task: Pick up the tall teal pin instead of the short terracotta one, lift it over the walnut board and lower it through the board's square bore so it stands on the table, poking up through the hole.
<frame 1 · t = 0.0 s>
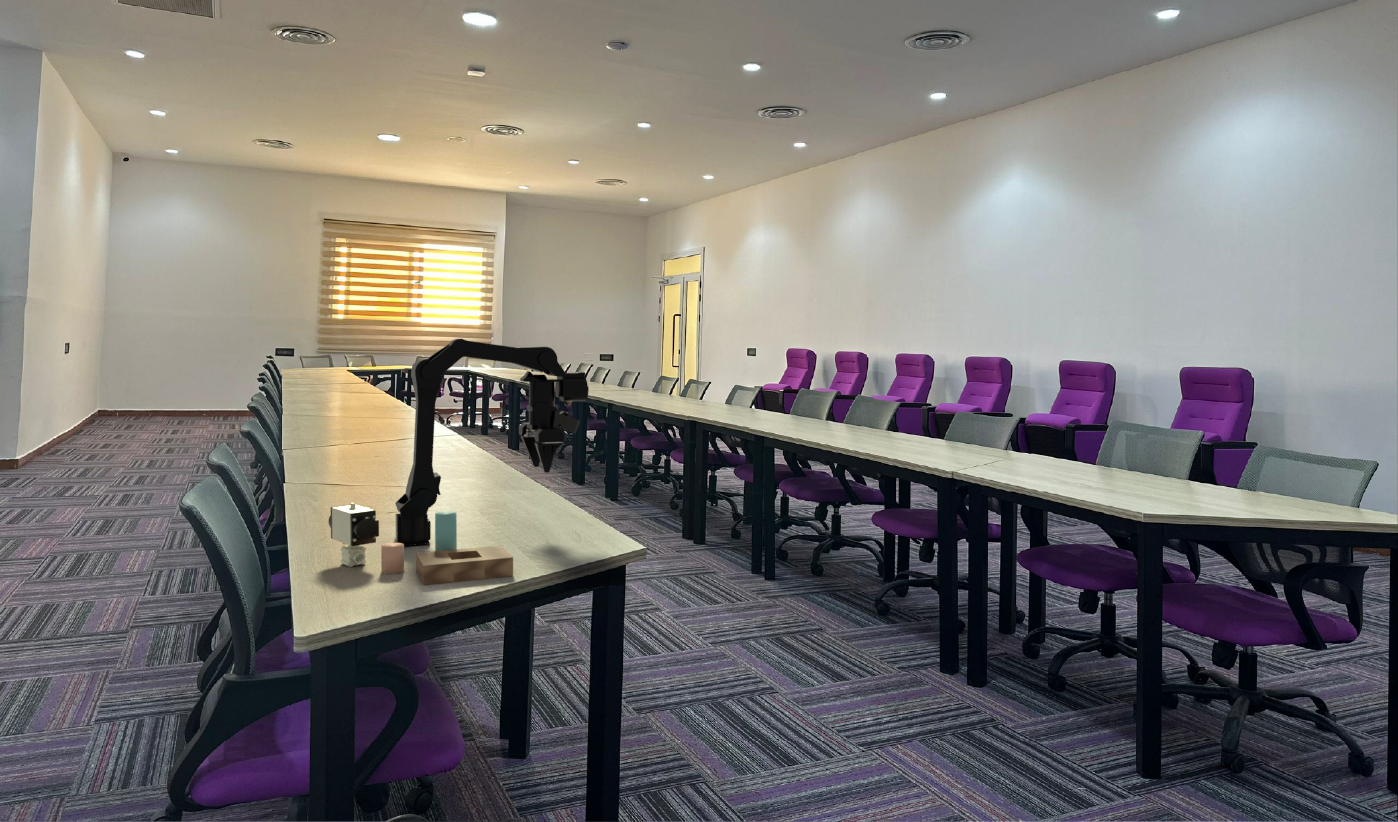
hand: (541, 469, 189), 15 cm above the table, fingers open, 9 cm apart
tall pin: (445, 563, 161), on the table
bore board: (464, 573, 154), on the table
pneumatic valve: (355, 565, 159), on the table
short pin: (392, 571, 155), on the table
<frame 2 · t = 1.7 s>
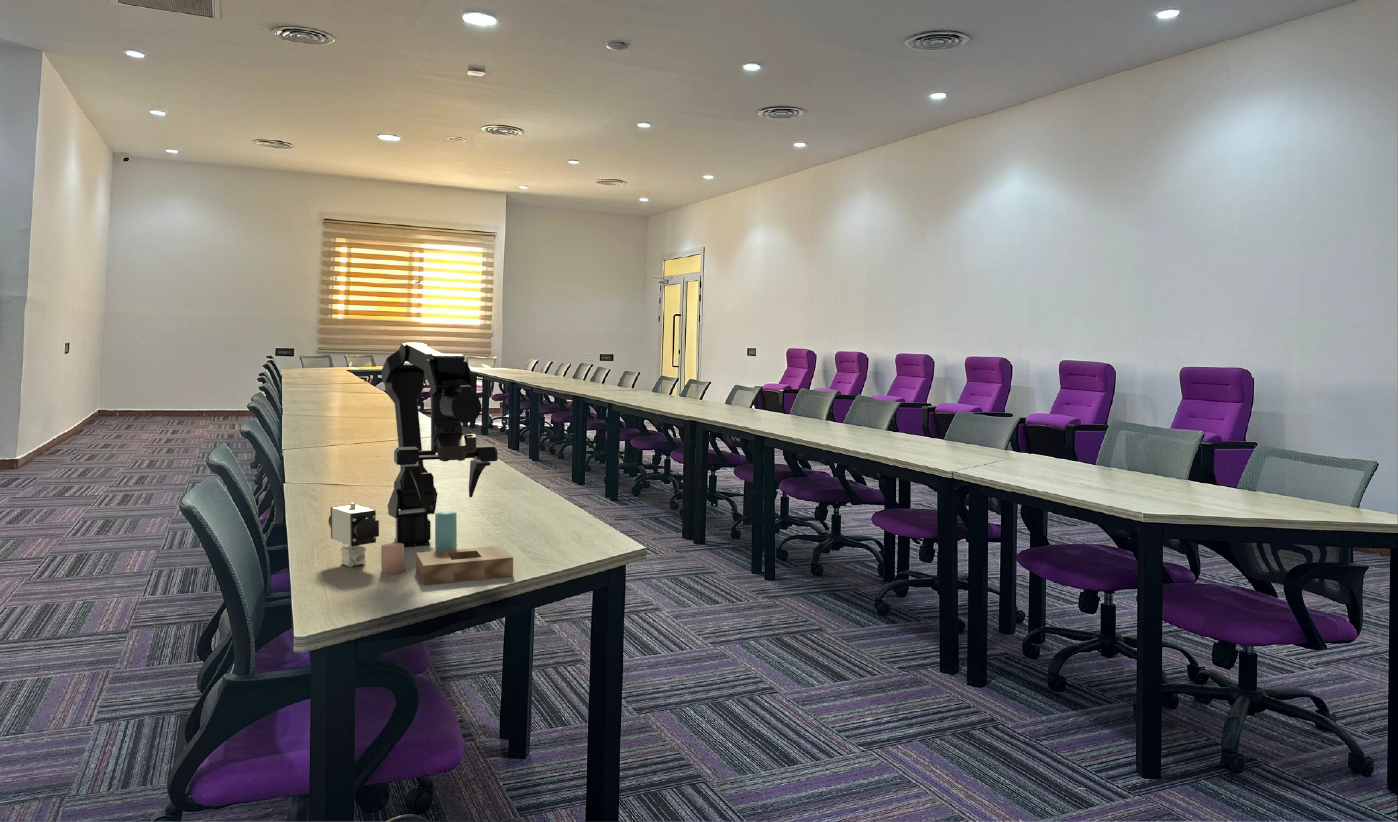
hand: (446, 498, 160), 13 cm above the table, fingers open, 9 cm apart
nothing on the table moved.
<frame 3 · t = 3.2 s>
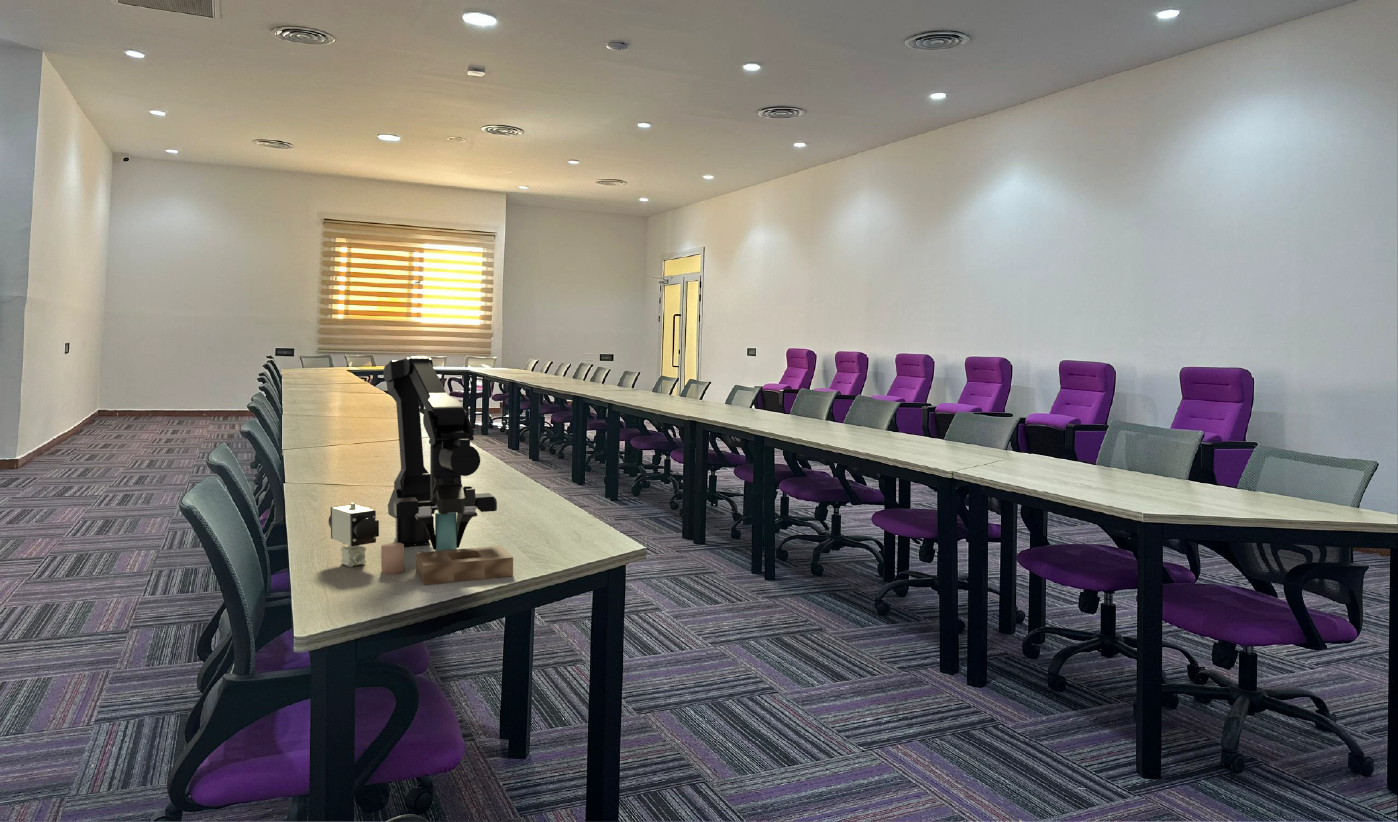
hand: (445, 548, 161), 3 cm above the table, fingers closed on tall pin, 4 cm apart
tall pin: (446, 563, 161), on the table, touching gripper
everything else where it was.
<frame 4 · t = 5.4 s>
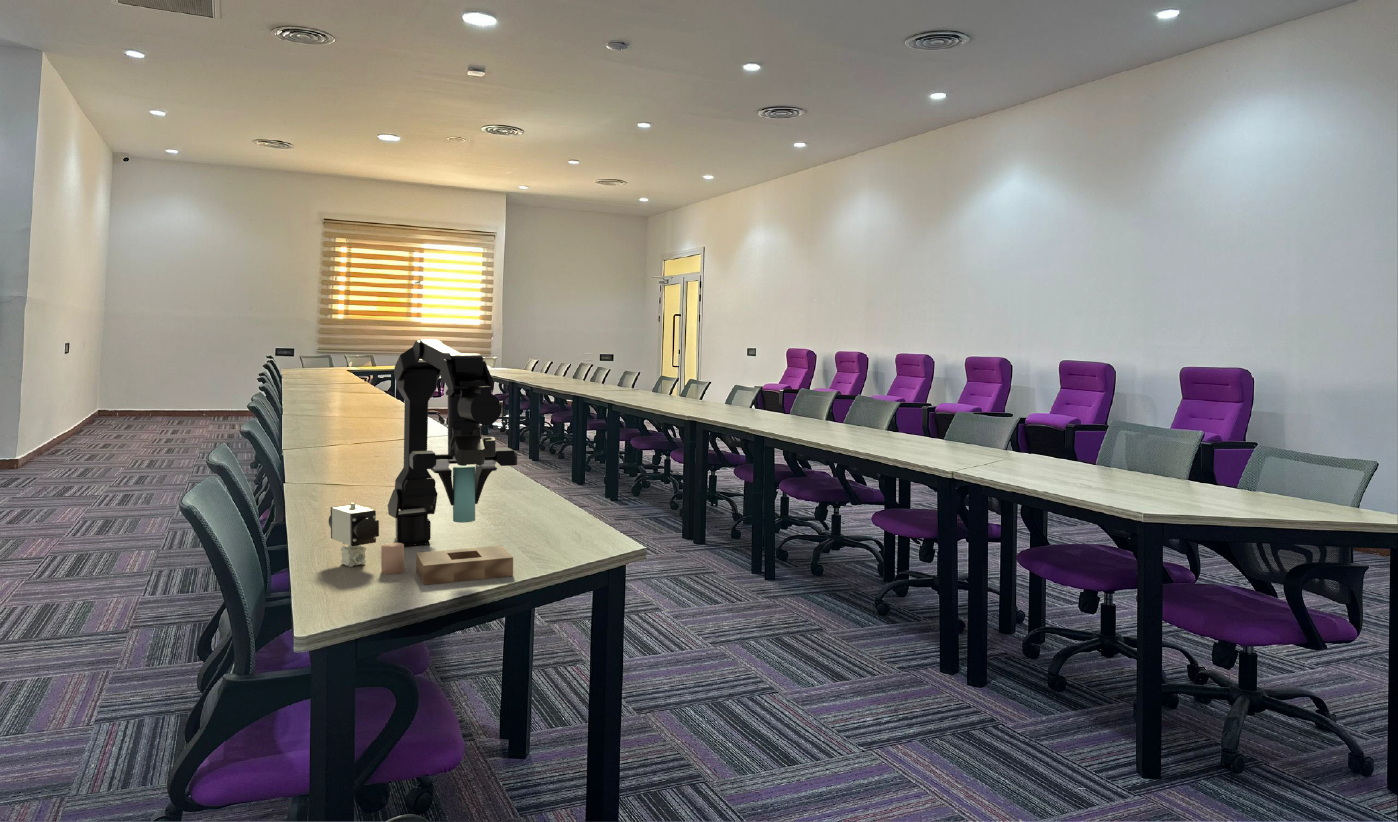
hand: (464, 504, 153), 13 cm above the table, fingers closed on tall pin, 4 cm apart
tall pin: (464, 520, 154), point 10 cm above the table, touching gripper
everything else where it was.
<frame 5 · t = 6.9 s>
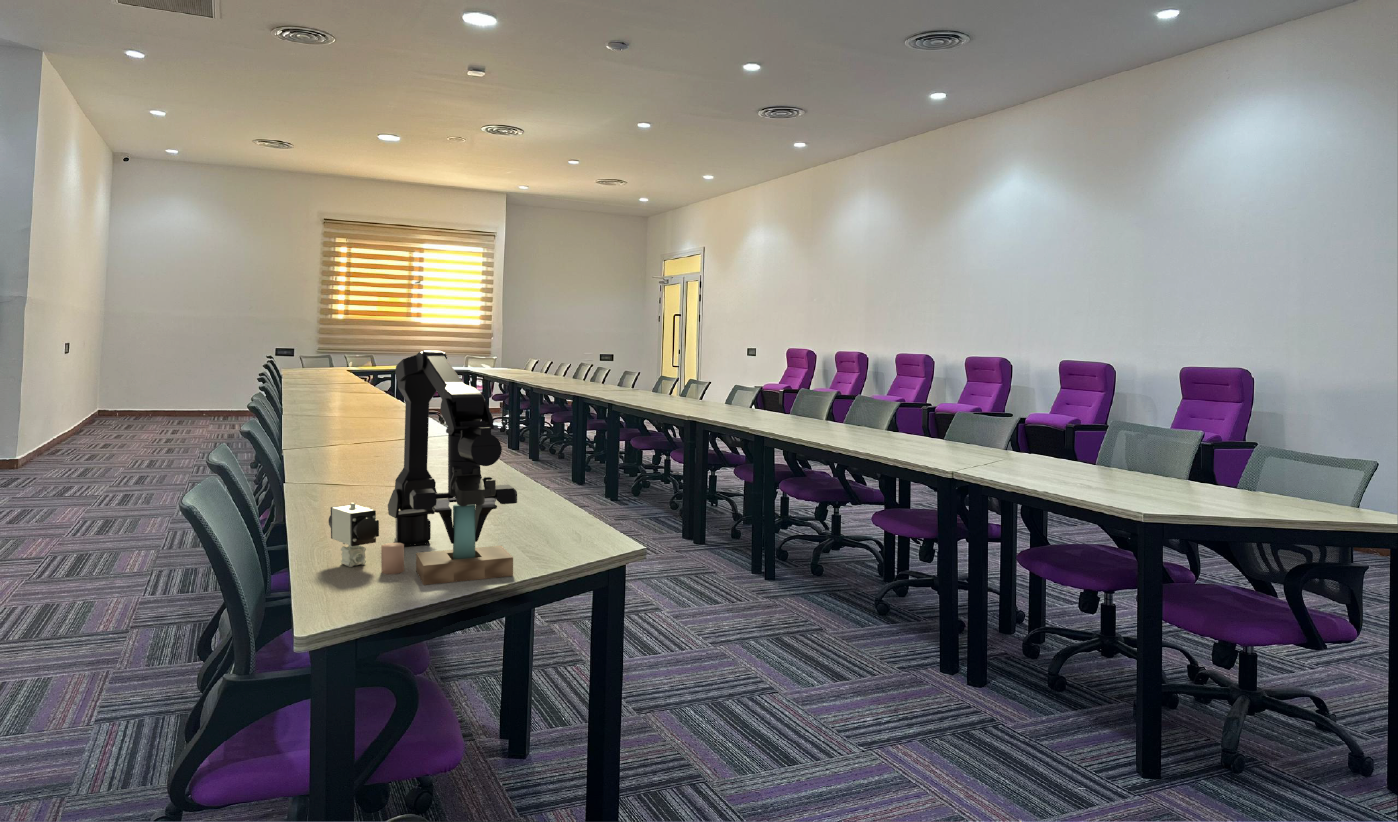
hand: (464, 542, 154), 6 cm above the table, fingers closed on tall pin, 4 cm apart
tall pin: (464, 558, 154), point 3 cm above the table, touching gripper
everything else where it was.
when the fingers open (5 cm above the table, at t = 7.9 s): tall pin drops 2 cm, resting in bore board.
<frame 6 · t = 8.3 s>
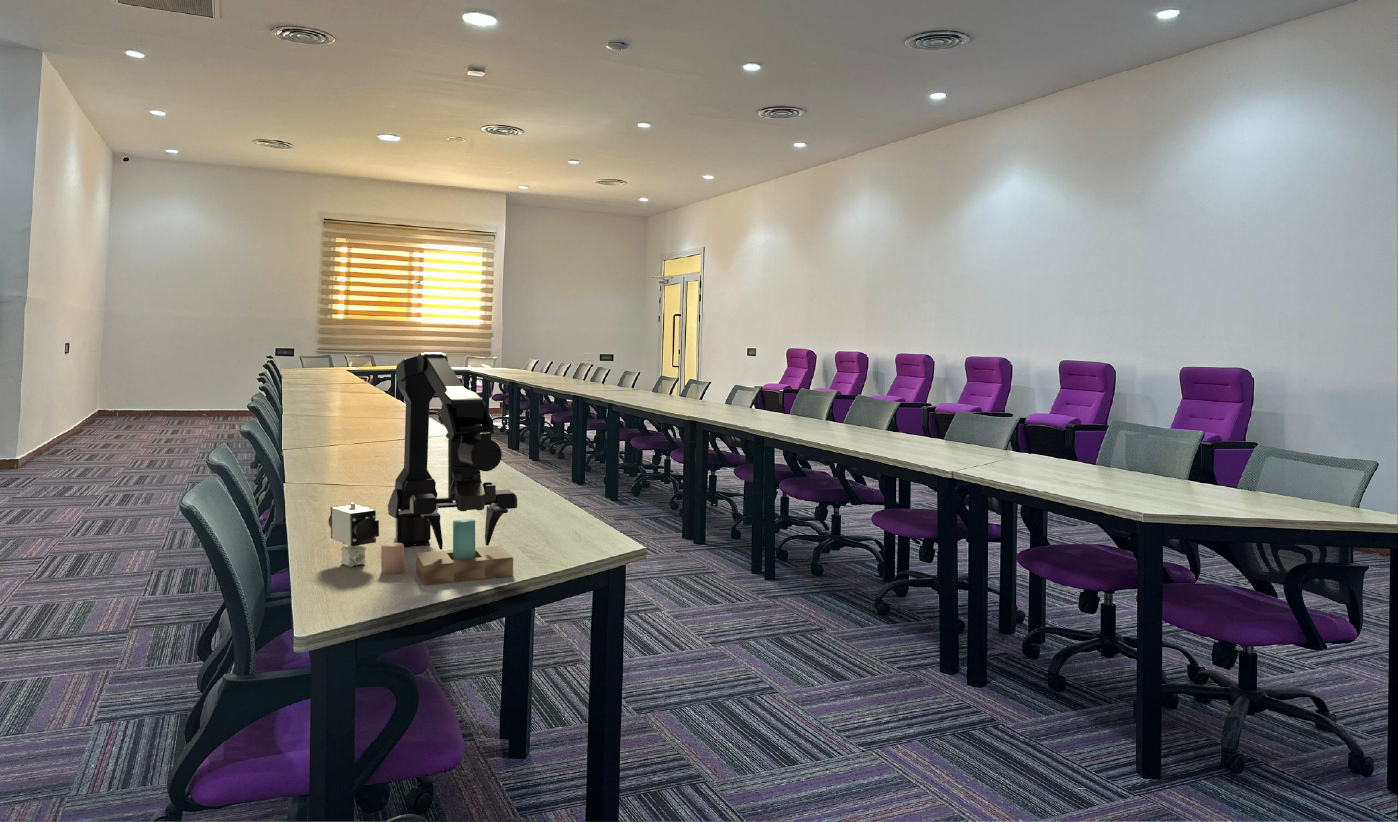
hand: (464, 547, 154), 5 cm above the table, fingers open, 8 cm apart
tall pin: (464, 573, 154), resting in bore board
everything else where it was.
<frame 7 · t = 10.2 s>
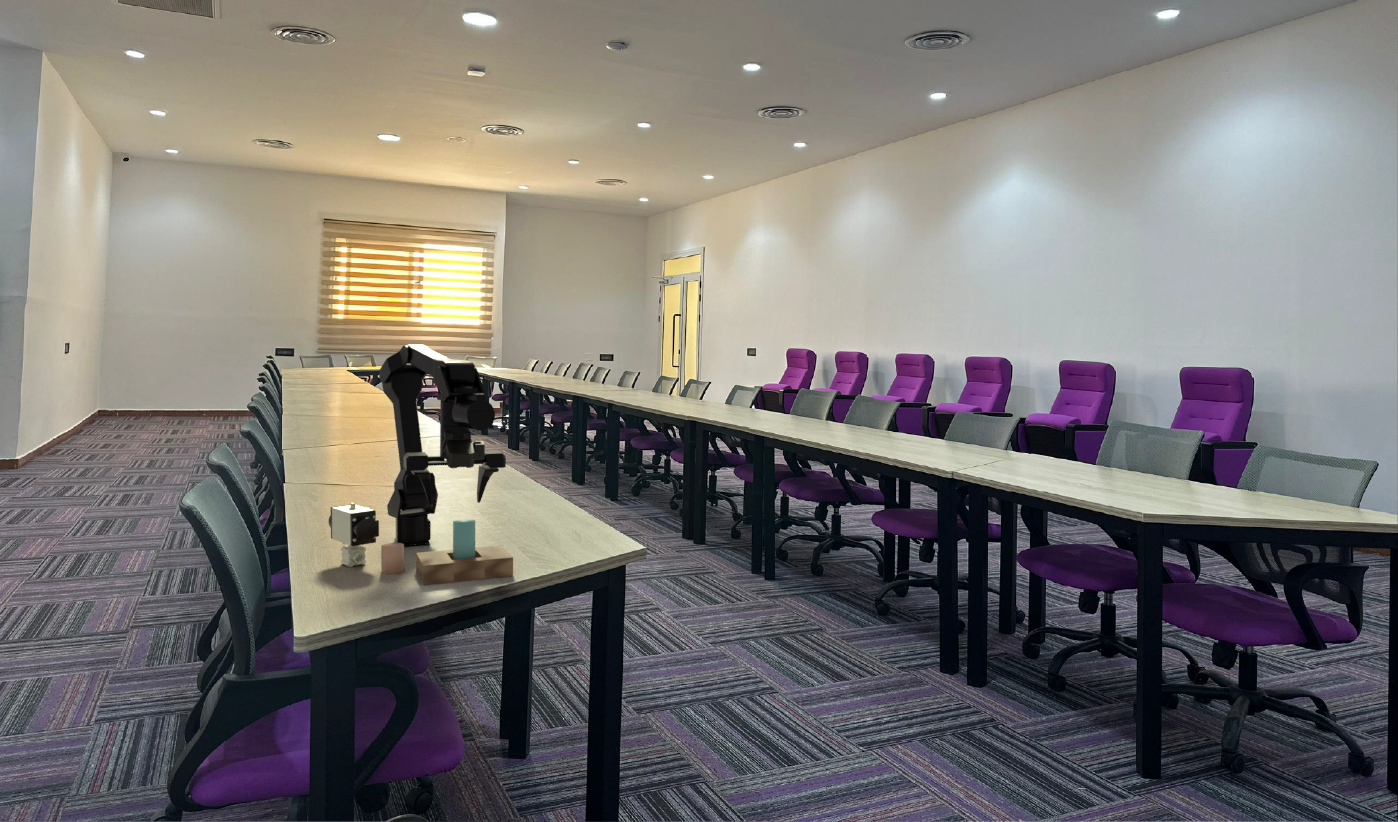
hand: (454, 503, 162), 12 cm above the table, fingers open, 9 cm apart
nothing on the table moved.
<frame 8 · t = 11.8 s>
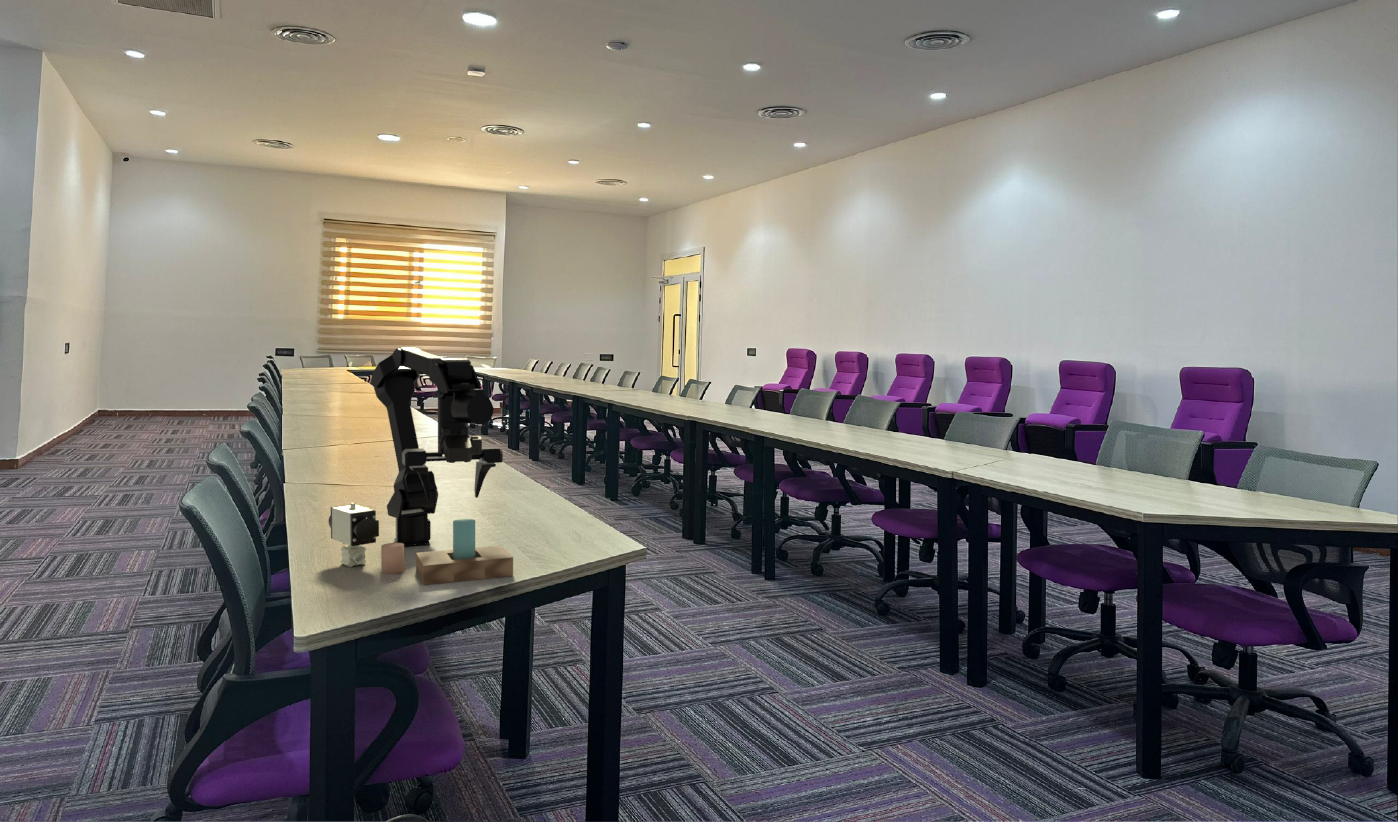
hand: (452, 498, 165), 12 cm above the table, fingers open, 9 cm apart
nothing on the table moved.
at the end: tall pin 0.0 cm off-centre on the bore board, point 0.0 cm above the bore board's base; tall pin tilted 0°; the gripper is holding nothing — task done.
